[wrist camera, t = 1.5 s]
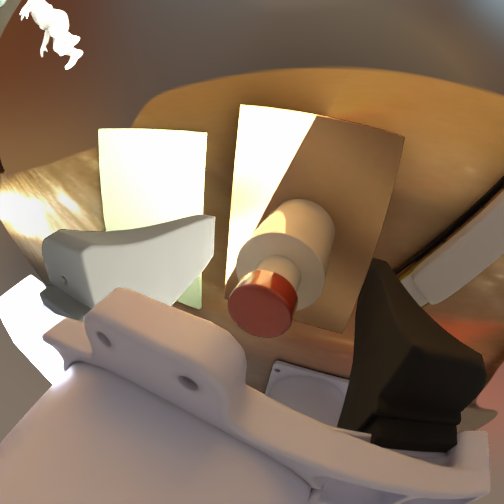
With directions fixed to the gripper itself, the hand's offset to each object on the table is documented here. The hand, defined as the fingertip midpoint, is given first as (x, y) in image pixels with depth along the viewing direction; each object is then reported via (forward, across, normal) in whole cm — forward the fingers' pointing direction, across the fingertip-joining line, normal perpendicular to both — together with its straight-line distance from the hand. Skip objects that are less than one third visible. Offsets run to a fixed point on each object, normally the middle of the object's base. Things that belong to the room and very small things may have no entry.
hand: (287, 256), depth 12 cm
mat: (+5, +12, +3) cm, 14 cm away
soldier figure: (+6, +24, -15) cm, 29 cm away
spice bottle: (+3, 0, 0) cm, 3 cm away
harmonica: (+6, -11, -3) cm, 13 cm away
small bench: (+5, 0, 0) cm, 5 cm away
